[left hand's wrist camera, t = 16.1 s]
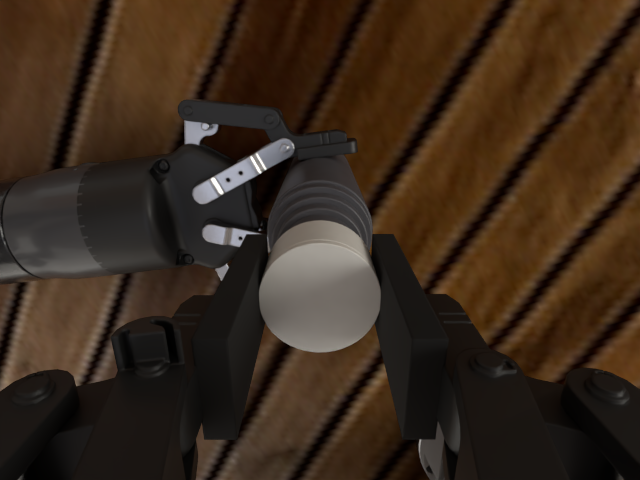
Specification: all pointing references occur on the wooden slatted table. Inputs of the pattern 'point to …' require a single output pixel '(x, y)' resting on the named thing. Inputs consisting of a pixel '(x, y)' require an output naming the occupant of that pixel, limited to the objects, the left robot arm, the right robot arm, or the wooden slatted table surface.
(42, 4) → the wooden slatted table surface
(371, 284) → the cap
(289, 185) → the bottle
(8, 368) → the wooden slatted table surface
